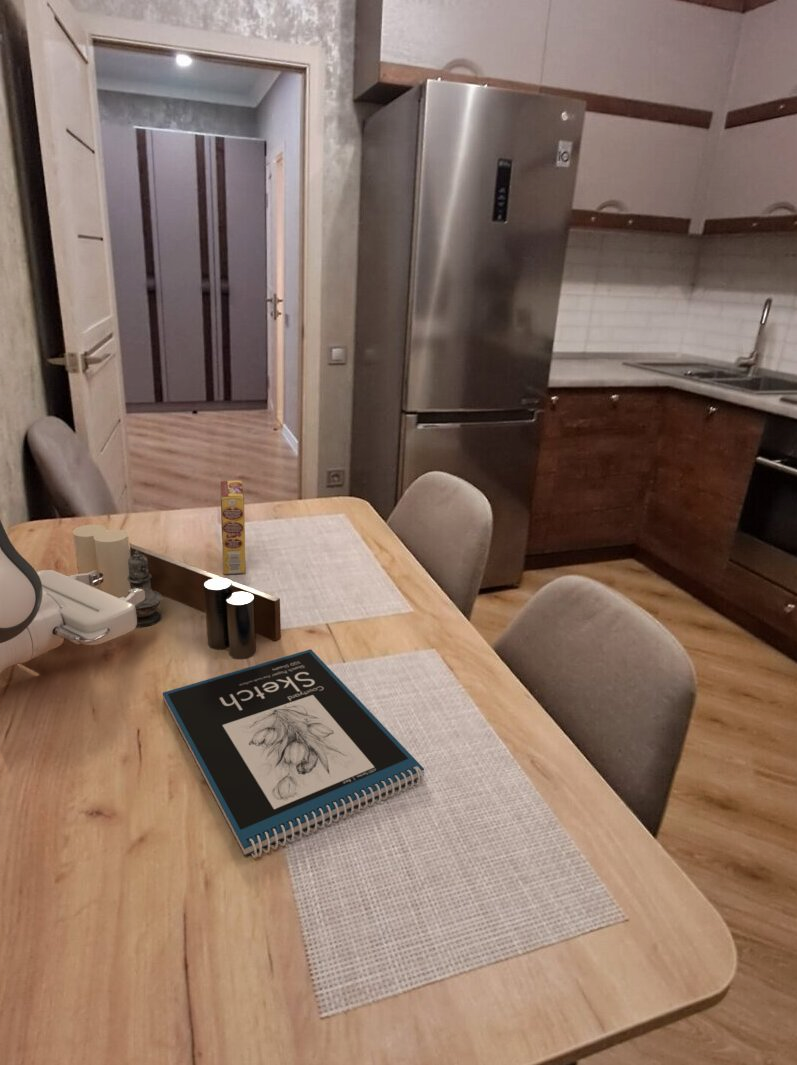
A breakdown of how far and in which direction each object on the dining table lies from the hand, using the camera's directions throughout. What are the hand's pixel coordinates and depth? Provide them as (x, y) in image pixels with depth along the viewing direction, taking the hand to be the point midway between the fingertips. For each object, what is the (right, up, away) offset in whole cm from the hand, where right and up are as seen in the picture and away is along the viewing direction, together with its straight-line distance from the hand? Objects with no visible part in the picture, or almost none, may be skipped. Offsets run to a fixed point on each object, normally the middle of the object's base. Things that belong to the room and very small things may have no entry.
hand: (120, 584), depth 101 cm
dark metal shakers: (+17, -9, -1) cm, 19 cm away
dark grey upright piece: (+2, -6, +5) cm, 8 cm away
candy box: (+11, +2, +25) cm, 28 cm away
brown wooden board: (+7, -4, +10) cm, 13 cm away
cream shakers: (-7, -3, +12) cm, 14 cm away
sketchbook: (+28, -18, -19) cm, 38 cm away
